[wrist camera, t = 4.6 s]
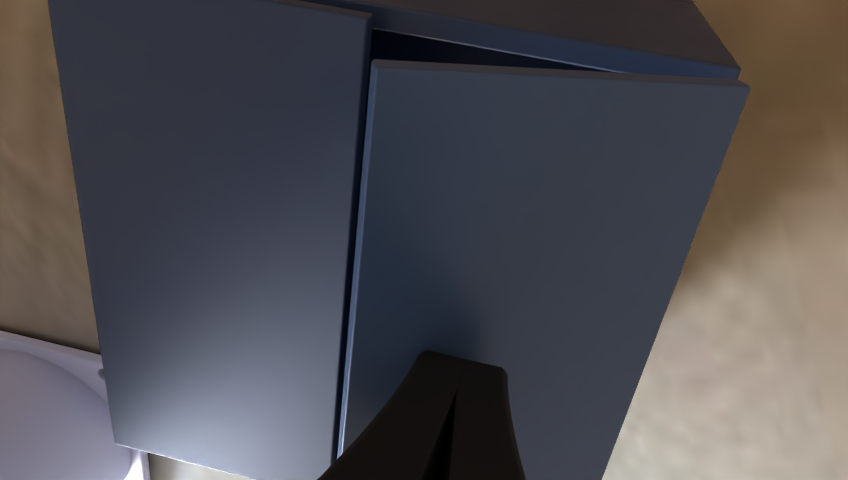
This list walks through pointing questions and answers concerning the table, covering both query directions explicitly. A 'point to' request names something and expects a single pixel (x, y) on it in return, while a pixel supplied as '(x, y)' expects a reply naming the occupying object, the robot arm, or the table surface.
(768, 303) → the table surface
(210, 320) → the carton
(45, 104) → the table surface
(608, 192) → the flap
